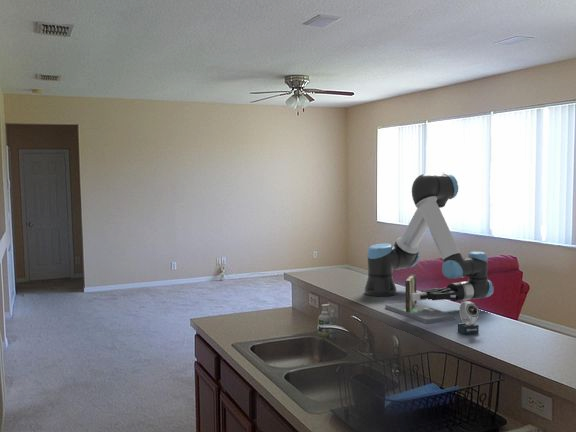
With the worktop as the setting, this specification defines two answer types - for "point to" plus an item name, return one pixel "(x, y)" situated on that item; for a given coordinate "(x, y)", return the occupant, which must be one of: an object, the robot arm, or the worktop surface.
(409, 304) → the beige upright panel
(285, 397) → the worktop surface
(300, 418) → the worktop surface
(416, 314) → the grey rectangular base plate
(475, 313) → the watch
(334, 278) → the worktop surface
